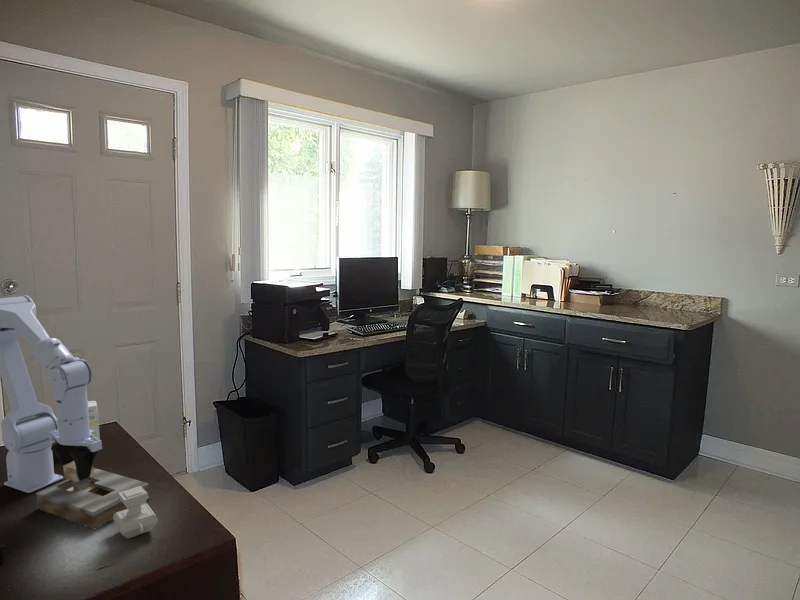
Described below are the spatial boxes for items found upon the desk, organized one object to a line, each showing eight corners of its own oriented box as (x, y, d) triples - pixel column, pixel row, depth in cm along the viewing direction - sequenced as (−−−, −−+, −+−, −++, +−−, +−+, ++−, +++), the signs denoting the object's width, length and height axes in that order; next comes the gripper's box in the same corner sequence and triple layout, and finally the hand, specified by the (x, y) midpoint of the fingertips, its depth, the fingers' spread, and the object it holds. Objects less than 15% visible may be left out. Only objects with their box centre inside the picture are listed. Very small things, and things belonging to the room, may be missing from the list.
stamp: (161, 535, 101) (158, 494, 100) (123, 548, 97) (121, 506, 95) (147, 516, 108) (145, 478, 107) (111, 527, 103) (109, 488, 102)
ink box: (63, 453, 137) (59, 410, 135) (63, 446, 141) (59, 405, 139) (100, 446, 142) (97, 404, 140) (99, 440, 146) (96, 399, 144)
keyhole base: (37, 508, 110) (36, 492, 109) (94, 482, 122) (93, 467, 121) (94, 529, 103) (93, 512, 102) (149, 498, 114) (148, 483, 114)
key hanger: (63, 496, 113) (60, 466, 112) (84, 486, 118) (81, 456, 116) (78, 501, 111) (74, 470, 110) (98, 490, 116) (95, 460, 114)
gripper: (113, 416, 112) (116, 474, 114) (69, 406, 118) (73, 462, 120) (81, 427, 106) (86, 489, 108) (37, 416, 112) (42, 475, 114)
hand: (77, 476), depth 113 cm, fingers closed on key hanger, 4 cm apart
